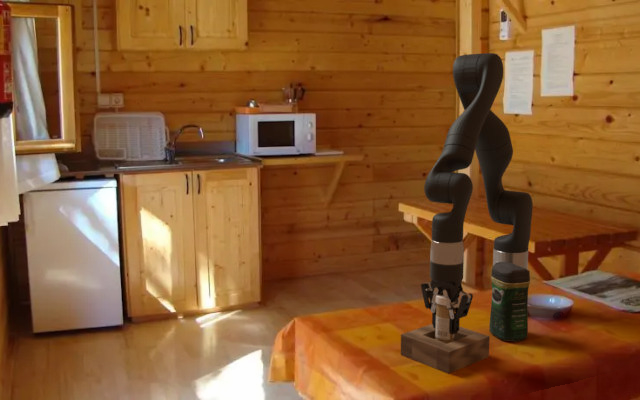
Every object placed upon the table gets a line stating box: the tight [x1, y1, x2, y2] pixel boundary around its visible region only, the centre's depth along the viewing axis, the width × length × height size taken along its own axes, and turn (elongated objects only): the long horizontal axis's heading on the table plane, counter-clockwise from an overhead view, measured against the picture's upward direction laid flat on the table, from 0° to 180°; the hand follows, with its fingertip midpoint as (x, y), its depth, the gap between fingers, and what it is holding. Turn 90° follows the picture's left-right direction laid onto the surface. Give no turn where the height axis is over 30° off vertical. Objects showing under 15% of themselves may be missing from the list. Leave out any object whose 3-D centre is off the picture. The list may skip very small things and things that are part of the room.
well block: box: [400, 323, 491, 375], centre depth 169 cm, size 14×14×5 cm
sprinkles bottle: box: [435, 294, 456, 344], centre depth 168 cm, size 5×5×13 cm
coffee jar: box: [488, 262, 531, 342], centre depth 180 cm, size 10×8×19 cm
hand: (445, 330), depth 168 cm, fingers closed on sprinkles bottle, 4 cm apart
